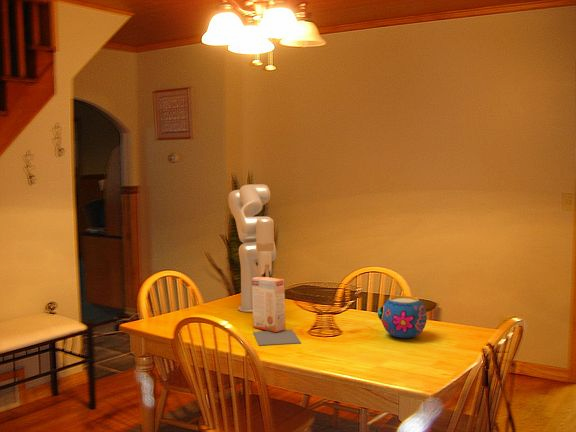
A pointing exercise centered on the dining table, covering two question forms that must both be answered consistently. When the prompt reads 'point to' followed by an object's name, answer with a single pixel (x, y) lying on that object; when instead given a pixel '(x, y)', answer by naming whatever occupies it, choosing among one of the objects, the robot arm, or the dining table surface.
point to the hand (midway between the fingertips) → (265, 290)
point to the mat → (276, 337)
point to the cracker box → (268, 303)
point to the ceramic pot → (403, 316)
